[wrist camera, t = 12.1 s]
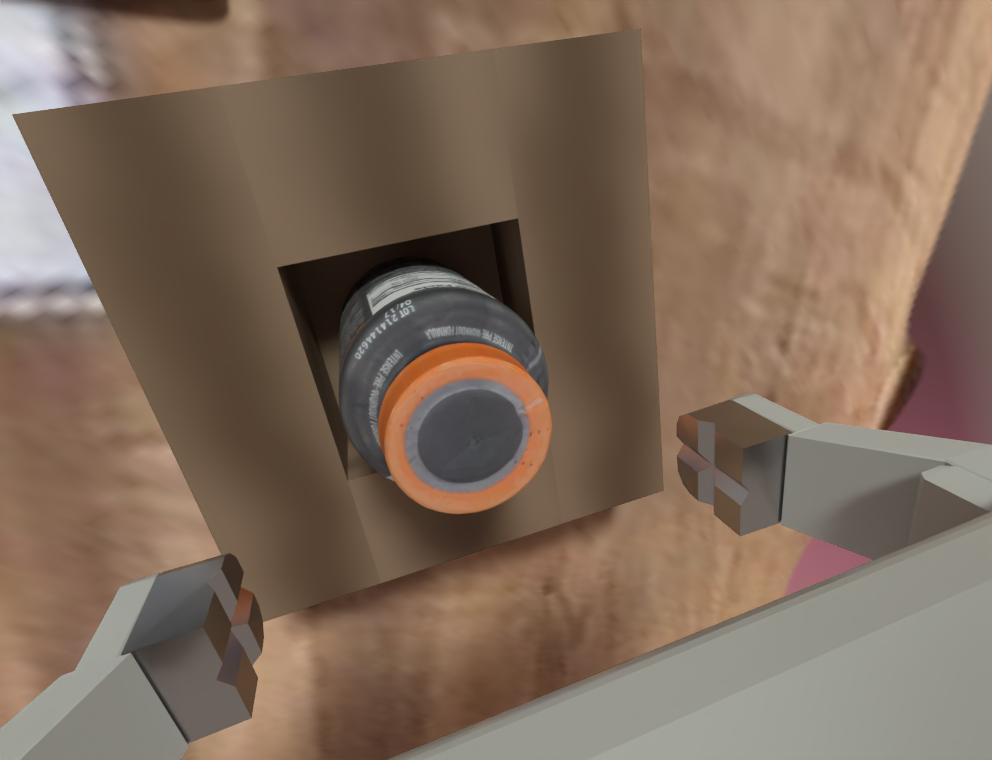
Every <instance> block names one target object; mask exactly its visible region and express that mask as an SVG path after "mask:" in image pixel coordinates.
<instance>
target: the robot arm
mask: <svg viewBox="0 0 992 760" xmlns="http://www.w3.org/2000/svg"><path fill="white" fill-rule="evenodd" d="M677 437H678V438H679V439H680V440H681V441H682V442H683V443H684V444H683V446H682V448H681V450H680V452H679V454H678V455H677V462H678V472H679V475H680V477H681V480H682V482H683V485H684V486H685V487H686V489H687V490H688V492H689V493H690V494H691V495H692V496H693V497H694V498H696V499H697V500H698V501H700V502H704V503H707V504H711V505H713V506H714V515H715V516H716V517H718V518H719V519H720V520H721V521H722V522H724V523H725V524H726V525H727V526H728V527H729V528H731V529H732V530H733V531H734V532H735V533H737V534H738V535H739V536H742V535H745V534H748V533H751V532H754V531H757V530H760V529H763V528H766V527H769V526H772V525H775V524H778V523H781V525H783V526H786V527H788V528H791V529H794V530H796V531H799V532H802V533H804V534H807V535H809V536H812V537H815V538H817V539H820V540H823V541H825V542H828V543H831V544H833V545H836V546H838V547H841V548H844V549H846V550H849V551H852V552H854V553H857V554H860V555H862V556H865V557H867V558H870V559H873V561H870V562H868V563H865V564H863V565H860V566H858V567H856V568H854V569H851V570H849V571H846V572H843V573H841V574H839V575H836V576H834V577H831V578H829V579H826V580H824V581H822V582H819V583H817V584H814V585H812V586H809V587H807V588H804V589H802V590H799V591H797V592H794V593H792V594H790V595H787V596H785V597H782V598H780V599H777V600H775V601H772V602H770V603H768V604H765V605H763V606H760V607H758V608H755V609H753V610H750V611H748V612H745V613H743V614H741V615H738V616H736V617H733V618H731V619H728V620H726V621H723V622H721V623H718V624H716V625H714V626H711V627H709V628H706V629H704V630H701V631H699V632H696V633H694V634H691V635H689V636H687V637H684V638H682V639H679V640H677V641H674V642H672V643H669V644H667V645H665V646H662V647H660V648H657V649H655V650H652V651H650V652H648V653H645V654H643V655H640V656H638V657H635V658H633V659H630V660H628V661H626V662H623V663H621V664H618V665H616V666H613V667H611V668H609V669H606V670H604V671H601V672H599V673H596V674H594V675H592V676H589V677H587V678H584V679H582V680H579V681H577V682H574V683H572V684H570V685H567V686H565V687H562V688H560V689H557V690H555V691H553V692H550V693H548V694H545V695H543V696H540V697H538V698H535V699H533V700H531V701H528V702H526V703H523V704H521V705H518V706H516V707H514V708H511V709H509V710H506V711H504V712H501V713H499V714H497V715H494V716H492V717H489V718H487V719H484V720H482V721H479V722H477V723H475V724H472V725H470V726H467V727H465V728H462V729H460V730H458V731H455V732H453V733H450V734H448V735H445V736H443V737H440V738H438V739H436V740H433V741H431V742H428V743H426V744H423V745H421V746H419V747H416V748H414V749H411V750H409V751H406V752H404V753H401V754H399V755H397V756H394V757H392V758H389V759H387V760H992V445H989V444H981V443H974V442H965V441H959V440H952V439H945V438H937V437H930V436H923V435H915V434H908V433H901V432H893V431H886V430H878V429H871V428H864V427H856V426H849V425H842V424H834V423H827V422H826V423H822V424H817V423H815V422H813V421H811V420H809V419H807V418H804V417H802V416H800V415H798V414H796V413H794V412H792V411H790V410H788V409H786V408H784V407H782V406H779V405H777V404H775V403H773V402H771V401H769V400H767V399H765V398H763V397H761V396H759V395H757V394H749V393H746V394H743V395H741V396H738V397H735V398H732V399H729V400H726V401H724V402H721V403H718V404H715V405H712V406H709V407H706V408H703V409H700V410H697V411H694V412H691V413H688V414H685V415H682V416H679V419H678V422H677ZM243 575H244V571H243V569H242V567H241V565H240V564H239V562H238V560H237V558H236V556H234V555H232V554H231V553H227V554H224V555H220V556H217V557H213V558H210V559H206V560H203V561H199V562H196V563H192V564H189V565H185V566H182V567H178V568H175V569H171V570H168V571H164V572H163V573H157V574H154V575H150V576H147V577H144V578H141V579H138V580H135V581H131V582H128V583H127V584H125V585H123V586H122V587H120V589H119V590H118V592H117V594H116V596H115V598H114V599H113V601H112V603H111V605H110V607H109V609H108V610H107V612H106V614H105V616H104V618H103V620H102V621H101V623H100V625H99V627H98V629H97V631H96V632H95V634H94V636H93V638H92V640H91V642H90V644H89V645H88V647H87V649H86V651H85V653H84V655H83V656H82V658H81V660H80V662H79V664H78V666H77V667H76V669H75V671H74V672H71V673H68V674H65V675H62V676H61V677H59V678H58V679H57V680H56V681H55V682H54V683H53V684H51V685H50V686H49V687H48V688H47V689H46V690H44V691H43V692H42V693H41V694H40V695H39V696H37V697H36V698H35V699H34V700H33V701H32V702H31V703H29V704H28V705H27V706H26V707H25V708H24V709H22V710H21V711H20V712H19V713H18V714H17V715H16V716H14V717H13V718H12V719H11V720H10V721H9V722H7V723H6V724H5V725H4V726H3V727H2V728H1V729H0V760H181V758H182V757H183V755H184V754H185V752H186V751H187V749H188V748H189V745H188V743H191V742H193V741H196V740H198V739H200V738H203V737H205V736H208V735H210V734H213V733H215V732H218V731H220V730H223V729H225V728H228V727H230V726H233V725H235V724H238V723H240V722H243V721H245V720H248V719H250V718H252V712H253V705H254V699H255V693H256V687H257V681H258V677H257V675H256V673H255V671H254V668H253V666H252V665H253V664H254V662H255V661H256V660H257V659H258V657H259V656H260V655H261V653H262V648H263V640H264V632H263V619H262V615H261V611H260V608H259V604H258V602H257V600H256V597H255V595H254V593H252V592H250V591H248V590H246V589H244V588H242V587H241V583H242V579H243Z"/></svg>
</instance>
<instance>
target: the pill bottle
mask: <svg viewBox="0 0 992 760" xmlns="http://www.w3.org/2000/svg"><path fill="white" fill-rule="evenodd" d="M548 384H549V379H548V371H547V365H546V360H545V356H544V354H543V351H542V348H541V346H540V344H539V342H538V340H537V338H536V337H535V335H534V333H533V332H532V331H531V329H530V328H529V326H528V325H527V324H526V323H525V321H524V320H523V319H522V318H521V317H520V316H519V315H518V314H516V313H515V312H514V311H512V310H511V309H510V308H508V307H507V306H506V305H504V304H502V303H501V302H500V301H498V300H497V299H495V298H494V297H492V296H491V295H489V294H488V293H486V292H485V291H483V290H482V289H480V288H479V287H477V286H476V285H474V284H473V283H472V282H470V281H469V280H467V279H466V278H464V277H463V276H461V275H460V274H458V273H457V272H455V271H454V270H453V269H451V268H450V267H448V266H446V265H444V264H442V263H439V262H437V261H434V260H430V259H424V258H417V257H405V258H398V259H394V260H390V261H387V262H385V263H382V264H380V265H378V266H377V267H375V268H373V269H372V270H370V271H369V272H367V273H366V274H365V275H364V276H363V277H362V278H360V279H359V280H358V281H357V283H356V284H355V285H354V287H353V288H352V290H351V291H350V293H349V295H348V297H347V299H346V301H345V303H344V305H343V309H342V314H341V318H340V329H339V408H340V414H341V418H342V423H343V426H344V428H345V431H346V433H347V435H348V437H349V439H350V441H351V443H352V444H353V446H354V448H355V449H356V450H357V452H358V453H359V454H360V456H361V457H362V458H363V459H364V460H365V461H366V462H367V463H368V464H369V465H370V466H371V467H372V468H374V469H375V470H376V471H377V472H379V473H380V474H381V475H383V476H384V477H386V478H388V479H391V480H393V481H395V483H396V484H397V485H398V487H399V488H400V489H401V490H402V491H403V492H404V493H405V494H406V495H407V496H408V497H410V498H411V499H412V500H414V501H415V502H417V503H418V504H420V505H422V506H424V507H426V508H428V509H432V510H434V511H438V512H442V513H449V514H467V513H476V512H481V511H484V510H488V509H490V508H493V507H495V506H497V505H499V504H502V503H504V502H505V501H507V500H509V499H510V498H512V497H513V496H515V495H516V494H517V493H519V492H520V491H521V490H522V489H523V488H524V487H525V486H526V485H527V484H528V483H529V482H530V481H531V480H532V479H533V478H534V476H535V475H536V474H537V472H538V471H539V469H540V467H541V465H542V464H543V462H544V460H545V458H546V455H547V453H548V449H549V446H550V442H551V434H552V418H551V413H550V408H549V404H548V401H547V398H548Z"/></svg>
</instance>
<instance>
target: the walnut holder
mask: <svg viewBox="0 0 992 760" xmlns="http://www.w3.org/2000/svg"><path fill="white" fill-rule="evenodd" d="M13 117H14V120H15V122H16V124H17V126H18V128H19V130H20V132H21V134H22V136H23V138H24V141H25V143H26V145H27V147H28V149H29V151H30V153H31V155H32V157H33V160H34V162H35V164H36V166H37V168H38V170H39V172H40V174H41V176H42V178H43V181H44V183H45V185H46V187H47V189H48V191H49V193H50V195H51V197H52V199H53V202H54V204H55V206H56V208H57V210H58V212H59V214H60V216H61V218H62V221H63V223H64V225H65V227H66V229H67V231H68V233H69V235H70V237H71V239H72V242H73V244H74V246H75V248H76V250H77V252H78V254H79V256H80V258H81V260H82V263H83V265H84V267H85V269H86V271H87V273H88V275H89V277H90V279H91V282H92V284H93V286H94V288H95V290H96V292H97V294H98V296H99V298H100V300H101V303H102V305H103V307H104V309H105V311H106V313H107V315H108V317H109V319H110V321H111V324H112V326H113V328H114V330H115V332H116V334H117V336H118V338H119V340H120V343H121V345H122V347H123V349H124V351H125V353H126V355H127V357H128V359H129V361H130V364H131V366H132V368H133V370H134V372H135V374H136V376H137V378H138V380H139V382H140V385H141V387H142V389H143V391H144V393H145V395H146V397H147V399H148V401H149V404H150V406H151V408H152V410H153V412H154V414H155V416H156V418H157V420H158V422H159V425H160V427H161V429H162V431H163V433H164V435H165V437H166V439H167V441H168V443H169V446H170V448H171V450H172V452H173V454H174V456H175V458H176V460H177V462H178V465H179V467H180V469H181V471H182V473H183V475H184V477H185V479H186V481H187V483H188V486H189V488H190V490H191V492H192V494H193V496H194V498H195V500H196V502H197V504H198V507H199V509H200V511H201V513H202V515H203V517H204V519H205V521H206V523H207V526H208V528H209V530H210V532H211V534H212V536H213V538H214V540H215V542H216V544H217V547H218V549H219V551H220V553H221V555H224V554H227V553H231V554H232V555H234V556H236V558H237V560H238V562H239V564H240V565H241V567H242V569H243V571H244V575H243V579H242V583H241V587H242V588H244V589H246V590H248V591H250V592H252V593H254V595H255V597H256V600H257V602H258V604H259V608H260V611H261V615H262V619H263V622H265V621H268V620H271V619H274V618H277V617H280V616H283V615H286V614H289V613H292V612H295V611H298V610H301V609H304V608H307V607H310V606H313V605H317V604H320V603H323V602H326V601H329V600H332V599H335V598H338V597H341V596H344V595H347V594H350V593H353V592H356V591H359V590H362V589H365V588H368V587H371V586H374V585H377V584H380V583H384V582H387V581H390V580H393V579H396V578H399V577H402V576H405V575H408V574H411V573H414V572H417V571H420V570H423V569H426V568H429V567H432V566H435V565H438V564H441V563H444V562H447V561H450V560H454V559H457V558H460V557H463V556H466V555H469V554H472V553H475V552H478V551H481V550H484V549H487V548H490V547H493V546H496V545H499V544H502V543H505V542H508V541H511V540H514V539H517V538H521V537H524V536H527V535H530V534H533V533H536V532H539V531H542V530H545V529H548V528H551V527H554V526H557V525H560V524H563V523H566V522H569V521H572V520H575V519H578V518H581V517H584V516H587V515H591V514H594V513H597V512H600V511H603V510H606V509H609V508H612V507H615V506H618V505H621V504H624V503H627V502H630V501H633V500H636V499H639V498H642V497H645V496H648V495H651V494H654V493H658V492H661V491H664V487H663V467H662V447H661V427H660V407H659V386H658V366H657V346H656V326H655V306H654V286H653V266H652V245H651V225H650V205H649V185H648V165H647V145H646V125H645V105H644V84H643V64H642V44H641V29H636V30H629V31H622V32H614V33H607V34H600V35H592V36H585V37H577V38H570V39H563V40H555V41H548V42H541V43H533V44H526V45H519V46H511V47H504V48H497V49H489V50H482V51H475V52H467V53H460V54H453V55H445V56H438V57H431V58H423V59H416V60H409V61H401V62H394V63H387V64H379V65H372V66H365V67H357V68H350V69H343V70H335V71H328V72H321V73H313V74H306V75H299V76H291V77H284V78H277V79H269V80H262V81H255V82H247V83H240V84H233V85H225V86H218V87H211V88H203V89H196V90H189V91H181V92H174V93H167V94H159V95H152V96H145V97H137V98H130V99H123V100H115V101H108V102H101V103H93V104H86V105H79V106H71V107H64V108H57V109H49V110H42V111H35V112H27V113H20V114H13ZM405 257H417V258H424V259H430V260H434V261H437V262H439V263H442V264H444V265H446V266H448V267H450V268H451V269H453V270H454V271H455V272H457V273H458V274H460V275H461V276H463V277H464V278H466V279H467V280H469V281H470V282H472V283H473V284H474V285H476V286H477V287H479V288H480V289H482V290H483V291H485V292H486V293H488V294H489V295H491V296H492V297H494V298H495V299H497V300H498V301H500V302H501V303H502V304H504V305H506V306H507V307H508V308H510V309H511V310H512V311H514V312H515V313H516V314H518V315H519V316H520V317H521V318H522V319H523V320H524V321H525V323H526V324H527V325H528V326H529V328H530V329H531V331H532V332H533V333H534V335H535V337H536V338H537V340H538V342H539V344H540V346H541V348H542V351H543V354H544V356H545V360H546V365H547V371H548V379H549V384H548V398H547V401H548V404H549V408H550V413H551V418H552V434H551V442H550V446H549V449H548V453H547V455H546V458H545V460H544V462H543V464H542V465H541V467H540V469H539V471H538V472H537V474H536V475H535V476H534V478H533V479H532V480H531V481H530V482H529V483H528V484H527V485H526V486H525V487H524V488H523V489H522V490H521V491H520V492H519V493H517V494H516V495H515V496H513V497H512V498H510V499H509V500H507V501H505V502H504V503H502V504H499V505H497V506H495V507H493V508H490V509H488V510H484V511H481V512H476V513H467V514H449V513H442V512H438V511H434V510H432V509H428V508H426V507H424V506H422V505H420V504H418V503H417V502H415V501H414V500H412V499H411V498H410V497H408V496H407V495H406V494H405V493H404V492H403V491H402V490H401V489H400V488H399V487H398V485H397V484H396V483H395V481H393V480H391V479H388V478H386V477H384V476H383V475H381V474H380V473H379V472H377V471H376V470H375V469H374V468H372V467H371V466H370V465H369V464H368V463H367V462H366V461H365V460H364V459H363V458H362V457H361V456H360V454H359V453H358V452H357V450H356V449H355V448H354V446H353V444H352V443H351V441H350V439H349V437H348V435H347V433H346V431H345V428H344V426H343V423H342V418H341V414H340V408H339V329H340V318H341V314H342V309H343V305H344V303H345V301H346V299H347V297H348V295H349V293H350V291H351V290H352V288H353V287H354V285H355V284H356V283H357V281H358V280H359V279H360V278H362V277H363V276H364V275H365V274H366V273H367V272H369V271H370V270H372V269H373V268H375V267H377V266H378V265H380V264H382V263H385V262H387V261H390V260H394V259H398V258H405Z"/></svg>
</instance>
